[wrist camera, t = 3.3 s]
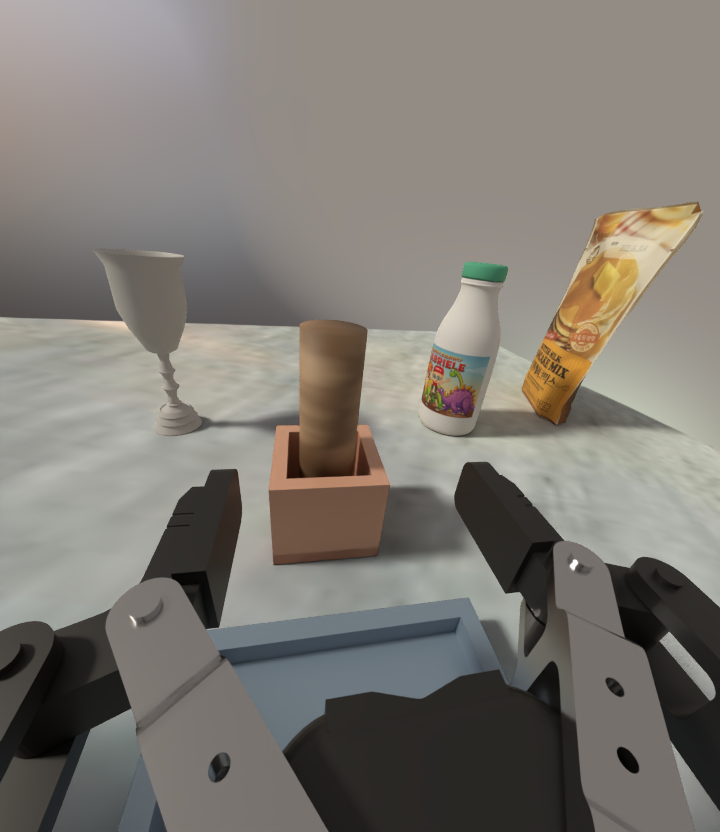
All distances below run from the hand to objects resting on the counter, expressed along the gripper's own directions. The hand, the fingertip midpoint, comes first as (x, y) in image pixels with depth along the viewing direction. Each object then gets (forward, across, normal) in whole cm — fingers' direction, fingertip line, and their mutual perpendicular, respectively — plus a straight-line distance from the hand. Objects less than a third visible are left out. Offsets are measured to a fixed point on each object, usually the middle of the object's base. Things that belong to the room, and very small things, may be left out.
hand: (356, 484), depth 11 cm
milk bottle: (+26, -18, +13) cm, 34 cm away
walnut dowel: (+10, 0, +12) cm, 16 cm away
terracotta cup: (+10, 0, +13) cm, 17 cm away
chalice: (+26, +16, +13) cm, 33 cm away
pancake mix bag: (+32, -39, +13) cm, 52 cm away
